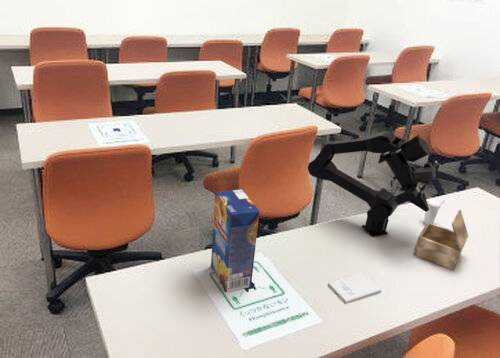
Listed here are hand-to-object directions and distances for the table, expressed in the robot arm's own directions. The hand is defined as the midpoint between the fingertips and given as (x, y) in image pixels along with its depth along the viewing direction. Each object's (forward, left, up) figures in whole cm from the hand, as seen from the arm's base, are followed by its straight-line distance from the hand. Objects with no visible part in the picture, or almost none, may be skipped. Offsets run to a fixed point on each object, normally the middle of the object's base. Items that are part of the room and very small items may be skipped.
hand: (427, 210), depth 144 cm
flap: (+6, -8, -3) cm, 11 cm away
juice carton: (-64, 0, -14) cm, 65 cm away
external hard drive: (-32, -13, -14) cm, 37 cm away
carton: (+4, -5, -14) cm, 15 cm away
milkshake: (+14, +12, -14) cm, 23 cm away
